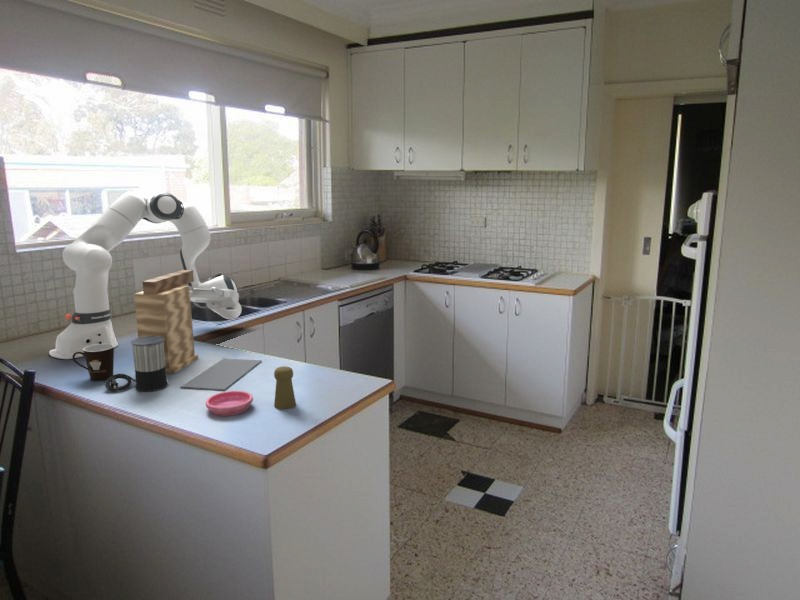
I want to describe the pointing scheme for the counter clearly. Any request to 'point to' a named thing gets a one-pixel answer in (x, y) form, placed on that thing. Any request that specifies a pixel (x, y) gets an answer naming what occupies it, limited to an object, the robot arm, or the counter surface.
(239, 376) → the rubber mat
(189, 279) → the walnut bar
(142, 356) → the milk frother
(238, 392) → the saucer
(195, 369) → the counter surface
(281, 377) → the cork
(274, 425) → the counter surface
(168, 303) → the oak block
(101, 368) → the coffee mug
